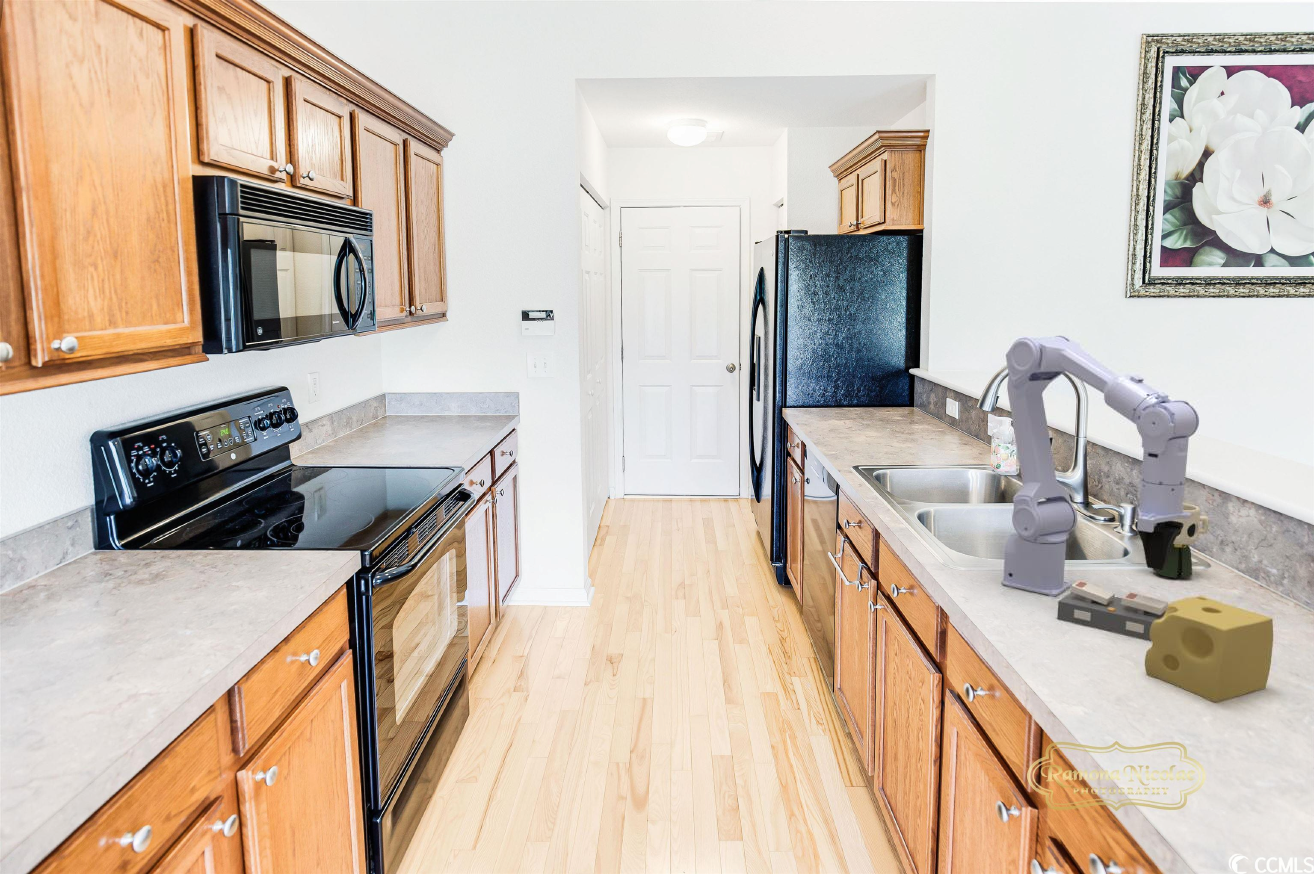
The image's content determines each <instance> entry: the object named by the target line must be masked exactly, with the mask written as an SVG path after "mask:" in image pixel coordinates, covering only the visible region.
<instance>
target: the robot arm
mask: <svg viewBox="0 0 1314 874" xmlns="http://www.w3.org/2000/svg"><path fill="white" fill-rule="evenodd" d="M1005 359H1006V366H1007V372H1008V378H1007V385H1006V387H1007V388H1006V389H1007V395H1008V402H1009V407H1010V414H1011V419H1012V421H1011V422H1012V426H1013V431H1014V438H1015V444H1016V448H1017V449H1016V450H1017V456H1018V457H1017V458H1018V462H1019V468H1020V469H1019V470H1020V474H1021V480H1022V486H1021V488H1020V489H1019V490H1018V491H1017V492H1016V493H1015V495H1014V496H1013V498H1012V501H1013V510H1012V514H1011V516H1012V517H1011V521H1012V527H1013V528H1014V530H1015V531H1016V533H1014V532H1013V533H1012V534H1010V535H1009V536H1008V538H1007V540H1006V543H1005V548H1004V558H1003V559H1004V560H1003V564H1004V565H1003V581H1001V585H1003V586H1006V587H1011V588H1015V589H1020V590H1024V591H1028V592H1034V593H1038V594H1043V595H1048V596H1052V597H1057V596H1058V595H1059V594H1061V593H1062V592H1065V590H1067V589H1069V588H1071V586H1072V585H1073V583H1072V582H1070V581H1066V580H1064V578H1065V566H1066V565H1065V563H1066V548H1067V547H1066V546H1067V539H1069V538H1070V532H1072V531H1073V530H1074V529H1075V528H1076V527H1077V524H1078V513H1077V509H1076V507H1075V505H1074V504H1073V502H1072V501H1071V496H1070V491H1069V490H1068V489H1067V488H1065V486H1063V485H1062V484H1061V483H1060V482H1058V481H1057V474H1056V467H1055V462H1054V457H1053V456H1054V455H1053V451H1052V445H1051V439H1050V434H1049V433H1050V432H1049V427H1048V421H1047V416H1046V408H1045V403H1044V402H1045V401H1044V399H1043V398H1044V397H1043V393H1044V391H1045V390H1046V389H1047V388H1048V386H1049V385H1050V384H1051V383H1052V382H1053V381H1055V380H1056V379H1058V378H1059V377H1060V376H1062V375H1063V374H1065V373H1068V374H1069V375H1071V376H1073V377H1074V378H1077V379H1078V380H1080V381H1082V382H1083V383H1085V384H1086V385H1088V386H1089V387H1092V388H1093V389H1096V390H1097V391H1099V392H1101V393H1102V394H1103V397H1104V398H1103V400H1104V403H1105V405H1107V406H1108V407H1110V408H1111V409H1112V410H1114V411H1115V412H1117V413H1118V414H1120V415H1121V416H1123V417H1124V418H1126V419H1127V420H1128V421H1130V422H1131V423H1133V424H1135V425H1136V429H1137V432H1138V434H1139V436H1140V438H1141V448H1143V454H1142V457H1143V458H1142V468H1141V480H1140V481H1141V482H1140V492H1139V493H1140V494H1139V503H1138V504H1139V505H1138V507H1137V511H1136V512H1137V516H1138V517H1137V521H1136V522H1135V523H1134V527H1135V529H1136V531H1137V532H1138V535H1139V537H1140V539H1141V544H1142V547H1143V551H1144V559H1145V564H1146V567H1147V568H1149V569H1152V570H1153V569H1158V570H1163V569H1164V568H1165V566H1166V563H1167V560H1168V557H1169V554H1170V551H1171V548H1172V545H1173V543H1174V541H1175V539H1176V537H1177V535H1178V534H1179V532H1180V531H1181V529H1182V528H1183V525H1184V524H1183V523H1181V522H1176V521H1171V520H1177V519H1189V518H1191V513H1190V512H1184V511H1183V503H1184V496H1185V488H1186V487H1185V483H1186V473H1187V464H1188V463H1187V461H1188V452H1189V450H1188V449H1189V440H1190V437H1192V436H1194V434H1195V433H1196V432H1197V430H1198V429H1199V425H1200V417H1199V414H1198V412H1197V410H1196V408H1194V406H1192V405H1191V404H1190V403H1189V402H1188V401H1187V400H1182V399H1181V400H1180V399H1179V400H1177V399H1176V400H1170V398H1169V395H1168V394H1167V393H1165V392H1158V390H1156V389H1155V388H1153V387H1152V386H1149V385H1147V384H1146V383H1144V381H1145V378H1144V377H1142V376H1141V375H1140V374H1139V375H1137V374H1135V375H1131V374H1123V375H1120V376H1119V375H1117V374H1116V373H1115V372H1113V371H1112V370H1110V369H1109V368H1108V367H1107V366H1105V365H1104V364H1102V363H1101V362H1100V361H1098V360H1097V359H1096V358H1095V357H1093V356H1092V355H1090V354H1089V353H1087V351H1084V350H1083V349H1082V347H1081V345H1080V343H1078V342H1076V341H1074V340H1071V339H1070V338H1069V337H1067V336H1066V335H1065V336H1064V335H1055V336H1044V337H1040V336H1039V337H1027V336H1025V337H1023V336H1022V337H1020V338H1018V339H1016V340H1014V342H1013V343H1012V345H1011V346H1010V348H1009V349H1008V350H1007V353H1006V354H1005ZM1043 499H1044V500H1043ZM1040 500H1041V501H1040Z"/></svg>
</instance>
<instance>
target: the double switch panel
mask: <svg viewBox="0 0 1314 874" xmlns="http://www.w3.org/2000/svg"><path fill="white" fill-rule="evenodd" d="M1121 600H1122V597H1117V596H1114V599H1113V600H1112V601H1110V602H1109V603H1108V604H1106V605H1105V604H1103V603H1100V602H1097V601H1095V600H1092V599H1089V598H1087V597H1084V596H1081V595H1079V594H1076V593H1073V592H1071V591H1070V593H1068V594H1066V595H1065V596H1064V597H1062V598H1061V599H1059V600H1058V602H1057V620H1059V621H1064V622H1069V623H1072V624H1076V625H1077V624H1078V625H1080V626H1083V627H1084V626H1085V627H1090V628H1094V629H1098V630H1102V631H1106V632H1111V633H1115V634H1119V635H1124V636H1128V637H1132V638H1135V637H1136V639H1140V640H1144V641H1148V640H1149V641H1148V642H1152V640H1151V639H1150V628H1151V625H1152V623H1153V622H1154V621H1155V620H1159V619H1161V618H1162V617H1163V616H1164V615H1165V612H1166V610H1165V611H1164V612H1163V613H1162V614H1161V615H1159V614H1156V613H1152V612H1148V611H1145V610H1141V609H1138V608H1134V607H1131V606H1127V605H1124V604H1121Z"/></svg>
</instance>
